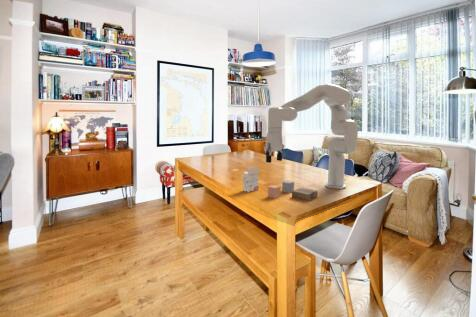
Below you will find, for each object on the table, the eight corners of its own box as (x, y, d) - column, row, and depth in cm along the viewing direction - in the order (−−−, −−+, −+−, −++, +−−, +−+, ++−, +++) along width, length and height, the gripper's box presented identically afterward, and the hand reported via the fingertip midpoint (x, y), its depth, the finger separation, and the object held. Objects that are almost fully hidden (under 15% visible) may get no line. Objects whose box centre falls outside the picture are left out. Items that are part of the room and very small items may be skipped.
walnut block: (301, 193, 149) (301, 187, 149) (317, 197, 142) (317, 190, 142) (291, 197, 143) (292, 190, 142) (307, 201, 135) (308, 194, 135)
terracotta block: (273, 194, 147) (273, 184, 146) (280, 196, 144) (280, 186, 143) (267, 196, 144) (268, 186, 143) (275, 198, 140) (275, 188, 139)
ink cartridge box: (253, 188, 161) (253, 165, 159) (258, 190, 157) (258, 166, 155) (242, 190, 156) (242, 167, 153) (247, 192, 152) (247, 168, 150)
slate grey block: (287, 189, 157) (287, 180, 156) (293, 191, 154) (294, 181, 153) (282, 191, 154) (282, 181, 153) (289, 193, 150) (289, 183, 149)
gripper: (278, 129, 146) (277, 159, 149) (259, 130, 134) (258, 162, 137) (289, 130, 141) (288, 160, 144) (270, 131, 129) (269, 164, 132)
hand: (274, 161), depth 140 cm, fingers open, 9 cm apart
